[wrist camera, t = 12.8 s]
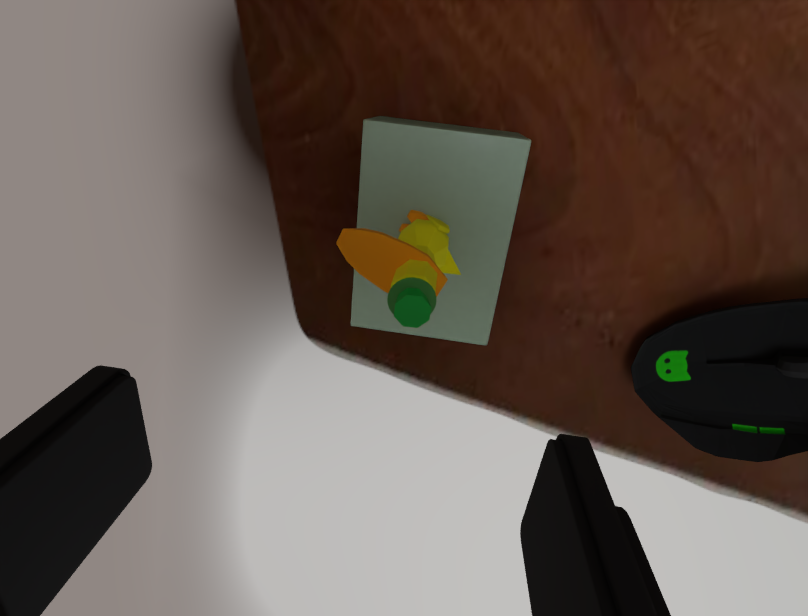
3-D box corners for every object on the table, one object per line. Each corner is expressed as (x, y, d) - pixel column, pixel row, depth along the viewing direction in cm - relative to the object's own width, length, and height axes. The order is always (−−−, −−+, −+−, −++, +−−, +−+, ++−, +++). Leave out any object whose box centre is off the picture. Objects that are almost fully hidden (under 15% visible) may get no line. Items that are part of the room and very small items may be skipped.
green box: (365, 293, 38) (350, 325, 33) (378, 115, 32) (363, 119, 27) (482, 310, 38) (487, 345, 32) (518, 132, 32) (531, 140, 26)
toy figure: (358, 222, 29) (301, 295, 18) (383, 173, 28) (337, 221, 17) (446, 272, 30) (441, 370, 19) (476, 227, 29) (488, 306, 18)
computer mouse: (645, 455, 37) (651, 436, 40) (951, 473, 27) (925, 446, 30) (622, 319, 36) (630, 311, 39) (927, 288, 26) (903, 280, 30)
